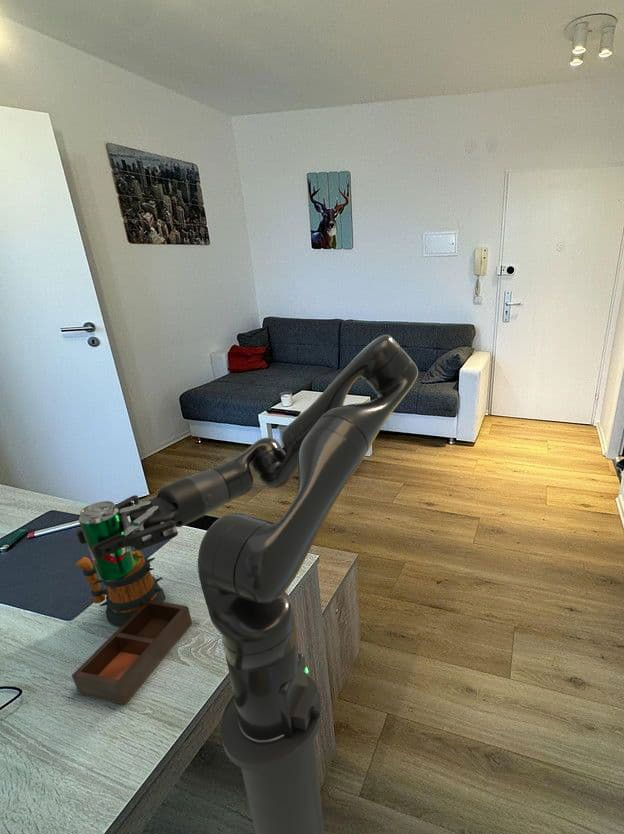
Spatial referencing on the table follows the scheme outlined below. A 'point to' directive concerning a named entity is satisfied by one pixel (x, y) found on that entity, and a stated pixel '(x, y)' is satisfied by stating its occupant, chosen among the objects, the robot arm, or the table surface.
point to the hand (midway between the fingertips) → (86, 544)
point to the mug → (124, 589)
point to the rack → (132, 652)
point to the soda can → (99, 526)
